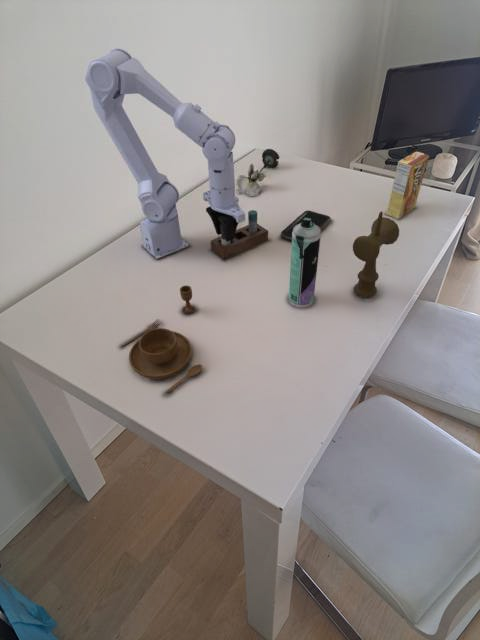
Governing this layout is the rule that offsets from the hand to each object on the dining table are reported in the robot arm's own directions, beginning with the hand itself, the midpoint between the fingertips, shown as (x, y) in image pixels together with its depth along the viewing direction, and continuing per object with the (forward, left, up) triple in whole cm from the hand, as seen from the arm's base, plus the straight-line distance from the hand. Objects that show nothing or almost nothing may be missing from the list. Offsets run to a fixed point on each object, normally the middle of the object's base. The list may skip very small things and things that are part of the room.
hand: (225, 236), depth 107 cm
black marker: (0, 0, -4) cm, 4 cm away
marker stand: (+4, 0, -4) cm, 6 cm away
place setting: (-27, -21, -5) cm, 35 cm away
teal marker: (+9, 0, -4) cm, 10 cm away
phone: (+23, -5, -4) cm, 24 cm away
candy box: (+50, -15, -5) cm, 52 cm away
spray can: (+2, -26, -5) cm, 26 cm away
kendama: (+14, -33, -5) cm, 36 cm away
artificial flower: (+32, +26, -5) cm, 41 cm away
